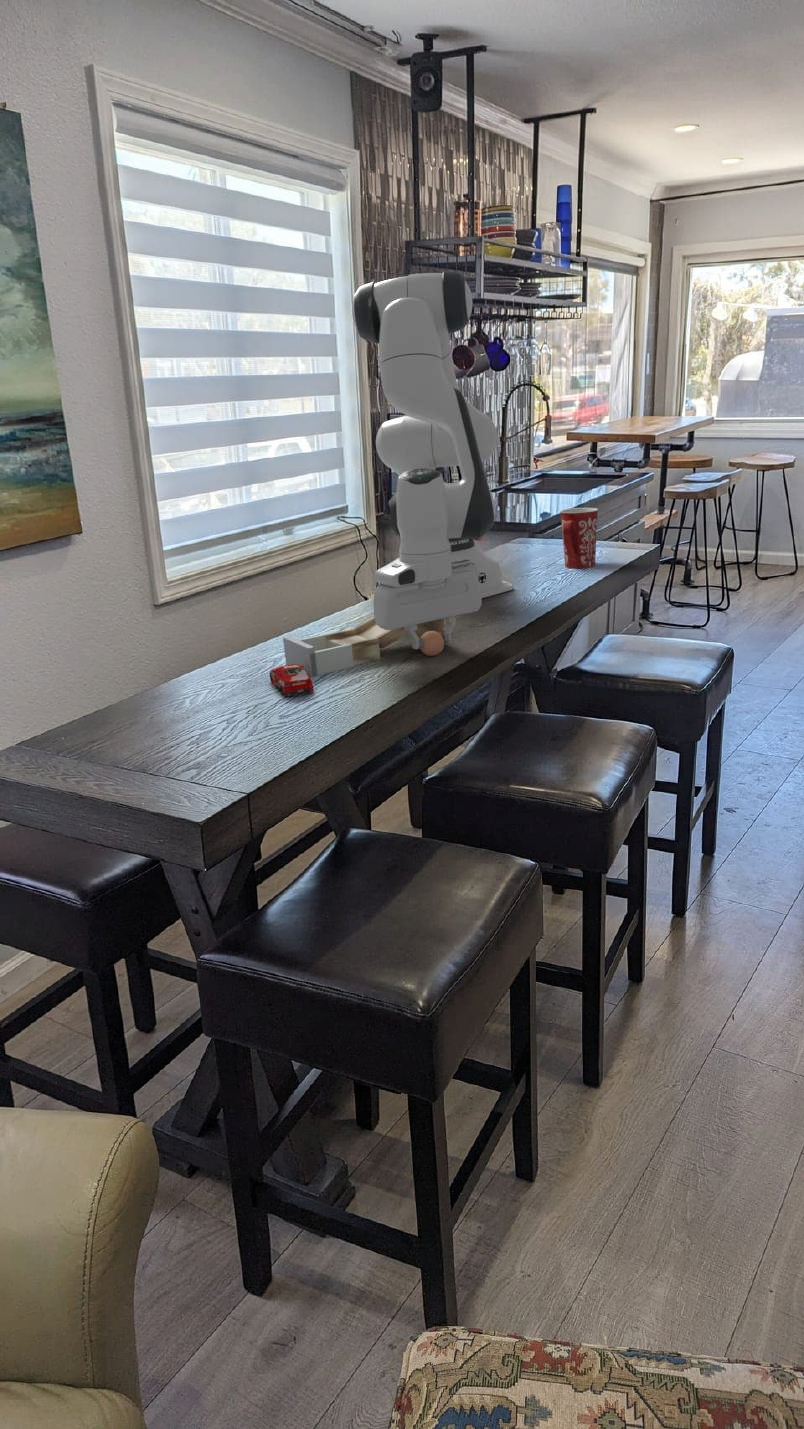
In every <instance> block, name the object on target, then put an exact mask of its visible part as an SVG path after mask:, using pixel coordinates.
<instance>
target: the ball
mask: <svg viewBox="0 0 804 1429" xmlns="http://www.w3.org/2000/svg"><path fill="white" fill-rule="evenodd" d="M421 638H423V644H424V647H423V648H419V649H420V651H421V652H422V653H424V654H425V655H426V656H428V657H429V656H430V657H431V656H432V657H433V656H437V655H439V654H440V653H442V651H443V650H444V646H445V644H444V639H443V637H442V636H441V634H439V633H438V632H436V631H428V632H426V633H424V634H423V635H422V636H421Z"/></svg>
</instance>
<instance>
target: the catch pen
mask: <svg viewBox="0 0 804 1429" xmlns="http://www.w3.org/2000/svg"><path fill="white" fill-rule="evenodd" d="M326 634H327V633H324V634H319V635H313V636H310V637H305V638H299V639H297V638H294V637H293V636H290V635H289V636H288V635H287V636H282V640H283V642H282V643H283V650H284V657H285V665H291V664H299V665H300V666H302V665H303V666H304V667H303V669H304V670H305V671H306V673H307V674H308V675H309V676H310V678H312V677H316V676H321V675H324V674H329V673H333V672H334V673H335V672H337V671H338V672H339V671H343V670H346V669H352V668H354V667H355V665H353V655H352V645H351V644H346V645H342V646H337V647H333V648H328V649H327V640H326Z"/></svg>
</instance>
